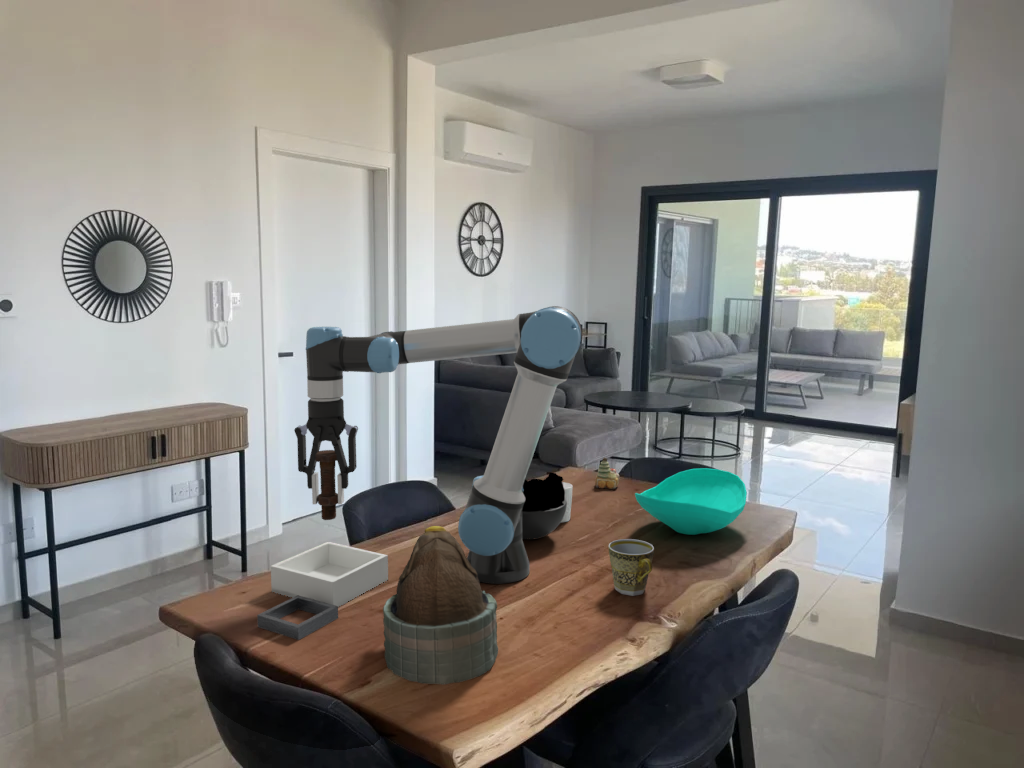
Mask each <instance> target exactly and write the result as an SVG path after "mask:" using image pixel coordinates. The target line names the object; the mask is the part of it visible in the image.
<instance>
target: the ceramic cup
mask: <svg viewBox="0 0 1024 768" xmlns="http://www.w3.org/2000/svg"><path fill="white" fill-rule="evenodd" d="M654 552H655V547H654V546H653V544H652V543H649V542H647V541H644V540H641V539H640V540H639V539H634V538H633V539H632V538H624V539H617V540H613V541H611V542H610V543H609V544H608V553H609V554H608V555H609V561H610V566H611V573H612V579H613V585H614V586H613V587H614V589H615V591H617V592H618V593H619V594H621V595H626V596H631V597H635V596H639V595H644V592H645V590H646V587H647V584H648V578H649V574H651V572H652V571H653V563H652V562H653V558H654Z"/></svg>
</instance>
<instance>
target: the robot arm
mask: <svg viewBox="0 0 1024 768" xmlns="http://www.w3.org/2000/svg"><path fill="white" fill-rule="evenodd" d="M582 337H583V331H582V326H581V323H580V320H579V319H578V317H577V315H575V313H574V312H572V311H571V310H570V309H568V308H566V307H562V306H558V305H557V306H555V305H554V306H553V305H552V306H547V307H543V308H540V309H538V310H535V311H532V312H524V313H518V314H517V315H516V316H515V317H514V318H511V319H502V320H492V321H484V322H483V321H482V322H475V323H464V324H463V323H462V324H456V325H447V326H446V325H445V326H438V327H437V326H436V327H435V326H434V327H428V328H418V329H409V330H405V331H403V330H401V331H398V330H397V331H392V330H391V331H384V332H381V333H380V334H374V335H370V336H346V335H345V336H344V334H343V331H342V329H341V327H338V326H313V327H310V328H308V329H307V331H306V339H305V353H306V354H305V355H306V372H307V373H306V374H307V375H306V378H307V379H306V380H307V389H306V390H307V397H308V398H309V399H308V401H307V415H308V416H307V417H308V419H307V421H306V423H305V424H303V425H297V427H295V428H294V430H293V431H294V433H295V436H296V438H297V442H296V443H297V470H298V472H300V473H303V474H306V476H307V477H306V478H307V483H306V484H307V485H306V486H307V488H308V489H311V491H312V493H311V494H312V497H311V498H312V505H317V504H318V495H319V494H320V490H319V472H317V471H316V466H317V462H316V460H315V459H316V455H315V454H317V453H318V452H319V451H320V449H321V445H322V442H324V441H327V442H331V445H332V447H333V450H334V451H335V454H336V456H337V461H336V462H337V464H338V469H339V471H340V472H339V473H338V474H337V494H338V504H337V505H343V503H344V502H345V489H348V487H349V474H350V473H353V472H354V471H355V470H356V468H357V439H356V438H357V433H358V430H359V427H358V426H357V425H351V424H348V423H347V421H346V420H345V417H344V416H345V412H344V411H345V410H344V408H345V407H344V406H345V405H344V404H345V403H344V402H345V401H344V399H343V398H342V397H344V372H347V373H348V372H353V373H354V372H356V373H358V372H359V373H376V374H382V373H392V372H395V371H396V369H397V367H398V365H407V364H412V363H413V364H415V363H424V362H434V361H435V362H436V361H443V360H445V361H446V360H454V359H455V360H456V359H465V358H476V357H486V356H497V355H506V354H508V355H509V354H515V353H516V354H515V358H514V361H513V364H514V367H515V368H516V371H517V375H516V377H515V381H514V383H513V387H512V390H511V393H510V395H509V399H508V402H507V404H506V407H505V411H504V414H503V416H502V419H501V423H500V424H499V425H500V426H499V429H498V431H497V435H496V436H495V437H496V438H495V441H494V444H493V447H492V450H491V453H490V456H489V458H488V462H487V465H486V467H485V471H484V473H483V475H477V476H476V477H474V478H473V480H472V486H471V490H470V493H469V495H468V498H467V499H468V500H467V502H466V505H465V508H464V510H463V511H462V513H461V515H459V519H458V528H457V530H458V535H459V536H458V537H459V538H460V540H461V542H462V544H463V545H464V546H465V547H466V548H467V549H468V550H469V551H468V554H467V556H466V558H467V559H468V561H469V563H470V564H471V566H472V567H473V568H474V569H475V570H476V572H477V574H478V575H477V577H478V580H479V582H480V583H485V584H499V585H500V584H510V583H515V582H518V581H521V580H523V579H525V578H527V577H528V575H529V574H530V571H531V570H530V569H531V568H530V566H531V565H530V563H531V562H530V559H529V558H528V552H527V550H526V548H525V543H524V541H523V540H524V539H522V509H523V505H524V502H525V496H524V494H523V491H524V489H523V483H524V480H525V479H526V477H527V474H528V471H529V469H530V466H531V463H532V460H533V457H534V455H535V454H534V453H535V451H536V448H537V445H538V442H539V439H540V436H541V433H542V430H543V427H544V425H545V421H546V419H547V417H548V413H549V411H550V408H551V405H552V402H553V398H554V396H555V393H556V390H557V387H558V385H560V384H562V383H565V382H566V381H567V380H568V377H569V375H570V371H571V369H572V365H573V363H574V361H575V358H576V357H575V356H576V355H577V352H578V351H579V348H580V345H581V340H582ZM344 430H345V431H346V432H345V433H346V435H347V436H348V437H347V447H348V448H347V449H348V450H347V451H348V455H347V456H348V461H347V460H346V459H347V458H346V455H345V452H344V449H343V448H344V447H343V445H342V440H341V436H340V435H342V433H343V432H344ZM308 431H309V432H310V434H311V435H312V436H313V440H312V446H311V451H310V454H309V460H308V463H307V437H306V435H307V434H308ZM347 462H348V463H347ZM315 471H316V472H315Z"/></svg>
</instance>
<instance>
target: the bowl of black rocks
mask: <svg viewBox="0 0 1024 768" xmlns="http://www.w3.org/2000/svg"><path fill="white" fill-rule="evenodd" d="M563 481H564V478H563V476H561V475H558V474H557V473H556V472H549V473H548V476H547V477H545V478H544V479H539V478H531V479H529V480H527V479H526V478H525V480H524V483H523V489H524V491H523V494H524V496H525V502H524V505H523V509H522V540H537V539H541V538H543V537H546V536H548V535H549V534H551V533H553V531H555V530H556V529H557V528H558V526H559V525H560V524H561V523H562V522H561V521H562V519H563V517H564V514H565V511H566V506H567V502H566V500H565V490H564V487H563V483H562V482H563ZM560 522H561V523H560Z"/></svg>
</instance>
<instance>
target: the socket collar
mask: <svg viewBox="0 0 1024 768" xmlns="http://www.w3.org/2000/svg"><path fill="white" fill-rule="evenodd" d="M296 611H303V612H307V613H311V614H313V616H311V617H310V618H308V619H306V620H304V621H301V622H300V623H299V624H297V623H295V622H292V621H291V622H290V621H288V620H285V619H282V618H285V617H286V616H288V615H290V614H293V612H296ZM256 618H257V628H260V629H264V630H266V631H270V632H272V633H276V634H278V635H282V636H283V637H287V638H291V639H294V640H297V641H300V640H301V639H303V638H305V637H307V636H309V635H311V634H312V633H314V632H315V631H316V632H317V631H318V630H319V629H321V628H323V627H325V626H326V625H328V624H330V623H332V622H333V621H336V620H337V619H339V607H338V606H335V605H331V604H328V603H324V602H321V601H317V600H314V599H310V598H306V597H303V596H299V595H297V596H295V597H293V598H291V597H290V598H289V599H287V600H285V601H283V602H281V603H279V604H277V605H275V606H273V607H271V608H269V609H267V610H265V611H263V612H261V613H258V614H257V615H256Z"/></svg>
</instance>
